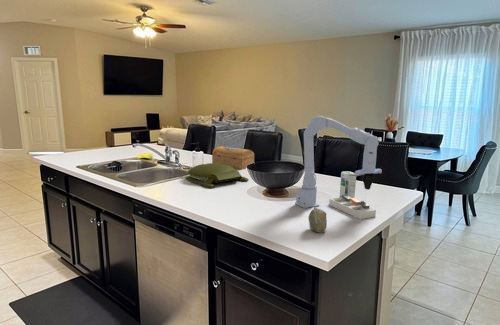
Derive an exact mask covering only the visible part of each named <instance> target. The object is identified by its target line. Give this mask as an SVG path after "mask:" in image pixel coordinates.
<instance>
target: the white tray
mask: <svg viewBox="0 0 500 325" xmlns="http://www.w3.org/2000/svg"><path fill="white" fill-rule="evenodd" d="M339 197H340V196H339ZM339 197H335V198H329V199H328V205H329V206H330V207H334V208H335V209H338V210H339V211H341V212H344V213H346V214H348V215H350V216H352V217H354V218H357V219H358V220H363V219H369V218H375V217H376V214H377V210H376V209H374V208H371V207H369V208H363V207H362V206H360V205H359V204H357V205H355V204H354V203H353V202H351V201H346V200H345V199H343V198H342V197H340V198H339Z"/></svg>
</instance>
